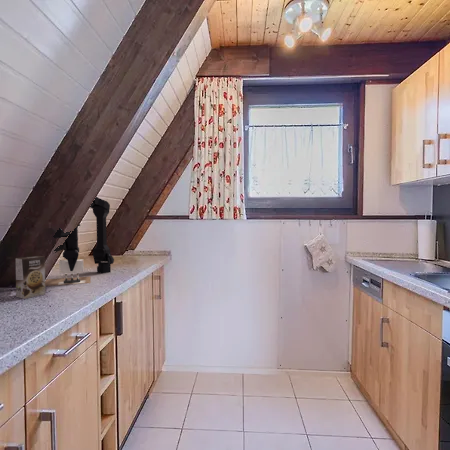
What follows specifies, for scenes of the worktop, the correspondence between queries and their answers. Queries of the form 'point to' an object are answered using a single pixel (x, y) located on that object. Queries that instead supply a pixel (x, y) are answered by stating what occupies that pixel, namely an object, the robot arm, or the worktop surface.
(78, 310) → the worktop surface
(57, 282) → the board
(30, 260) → the cookie box
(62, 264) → the block
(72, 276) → the dark grey bulb holder
